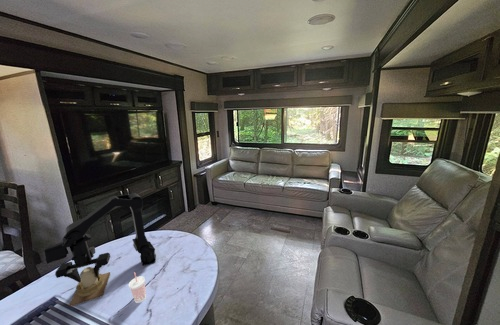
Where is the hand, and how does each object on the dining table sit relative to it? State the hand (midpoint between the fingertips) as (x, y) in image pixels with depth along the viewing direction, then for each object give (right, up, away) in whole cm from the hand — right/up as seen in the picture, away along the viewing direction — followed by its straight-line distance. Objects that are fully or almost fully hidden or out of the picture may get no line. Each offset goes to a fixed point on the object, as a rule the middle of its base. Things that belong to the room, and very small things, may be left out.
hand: (89, 279), depth 93 cm
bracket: (0, -5, +1) cm, 6 cm away
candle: (0, -4, +1) cm, 5 cm away
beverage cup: (+26, -6, -4) cm, 27 cm away
